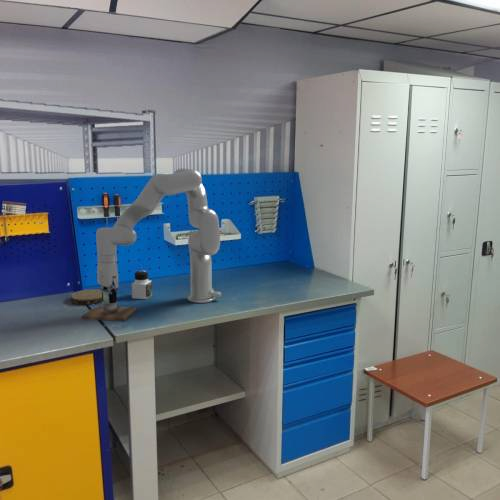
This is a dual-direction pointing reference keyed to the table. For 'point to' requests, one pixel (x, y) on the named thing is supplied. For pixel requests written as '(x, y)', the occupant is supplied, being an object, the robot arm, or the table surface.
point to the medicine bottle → (141, 286)
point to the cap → (106, 296)
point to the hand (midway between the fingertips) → (109, 300)
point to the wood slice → (87, 297)
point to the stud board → (115, 316)
